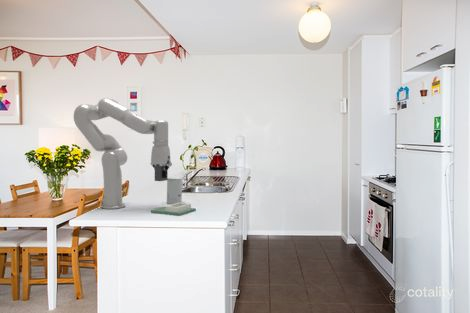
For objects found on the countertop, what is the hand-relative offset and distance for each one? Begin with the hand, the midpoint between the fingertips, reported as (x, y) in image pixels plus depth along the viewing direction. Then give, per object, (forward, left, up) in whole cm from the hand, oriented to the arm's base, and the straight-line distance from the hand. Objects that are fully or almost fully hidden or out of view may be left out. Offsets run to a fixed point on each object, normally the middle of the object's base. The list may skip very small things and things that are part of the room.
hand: (161, 177), depth 204 cm
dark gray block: (0, 0, -2) cm, 2 cm away
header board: (+12, -6, -17) cm, 22 cm away
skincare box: (-3, +15, -17) cm, 23 cm away
